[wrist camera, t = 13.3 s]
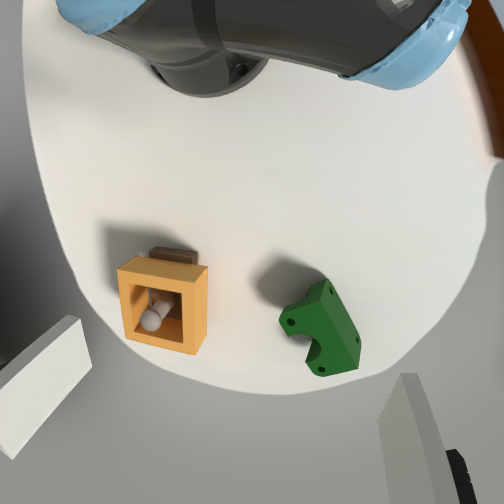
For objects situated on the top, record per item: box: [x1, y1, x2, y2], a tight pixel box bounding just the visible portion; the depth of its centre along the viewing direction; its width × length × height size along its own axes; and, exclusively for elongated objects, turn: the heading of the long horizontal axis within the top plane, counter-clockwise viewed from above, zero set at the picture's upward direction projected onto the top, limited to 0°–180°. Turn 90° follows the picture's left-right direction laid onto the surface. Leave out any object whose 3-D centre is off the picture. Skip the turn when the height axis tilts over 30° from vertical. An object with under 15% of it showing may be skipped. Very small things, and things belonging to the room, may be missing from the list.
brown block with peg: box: [140, 247, 198, 331], centre depth 37 cm, size 14×6×10 cm, turn 176°
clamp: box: [279, 280, 361, 377], centre depth 36 cm, size 12×6×9 cm, turn 27°
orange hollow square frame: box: [117, 256, 208, 355], centre depth 37 cm, size 10×10×5 cm
